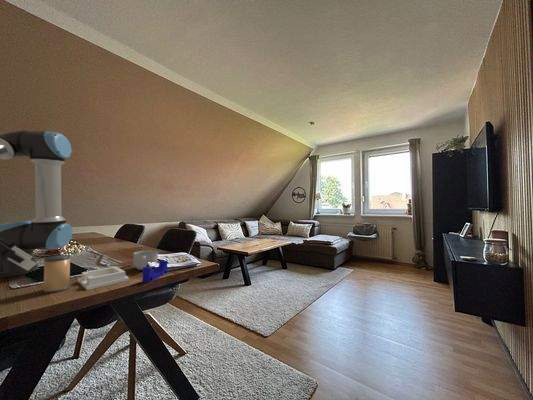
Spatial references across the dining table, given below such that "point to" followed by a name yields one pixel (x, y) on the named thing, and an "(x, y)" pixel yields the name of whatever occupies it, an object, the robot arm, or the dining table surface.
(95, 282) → the holder
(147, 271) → the cable clip
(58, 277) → the tan cylindrical piece
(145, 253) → the teacup
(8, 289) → the dining table surface
